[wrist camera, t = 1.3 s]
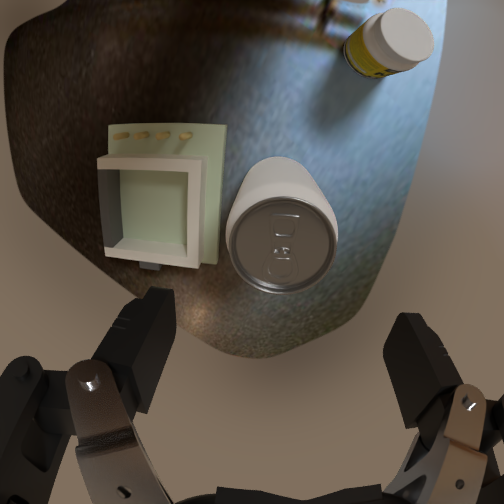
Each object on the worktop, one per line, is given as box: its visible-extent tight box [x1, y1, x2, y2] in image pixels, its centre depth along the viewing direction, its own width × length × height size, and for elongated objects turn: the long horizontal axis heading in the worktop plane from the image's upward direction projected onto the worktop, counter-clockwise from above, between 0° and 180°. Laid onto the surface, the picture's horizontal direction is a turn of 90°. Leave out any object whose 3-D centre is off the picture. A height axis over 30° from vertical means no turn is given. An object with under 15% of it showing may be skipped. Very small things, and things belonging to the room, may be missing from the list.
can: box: [226, 157, 338, 295], centre depth 20 cm, size 6×6×12 cm
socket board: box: [97, 123, 227, 271], centre depth 25 cm, size 13×11×4 cm
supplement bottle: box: [344, 8, 434, 79], centre depth 15 cm, size 5×5×8 cm
